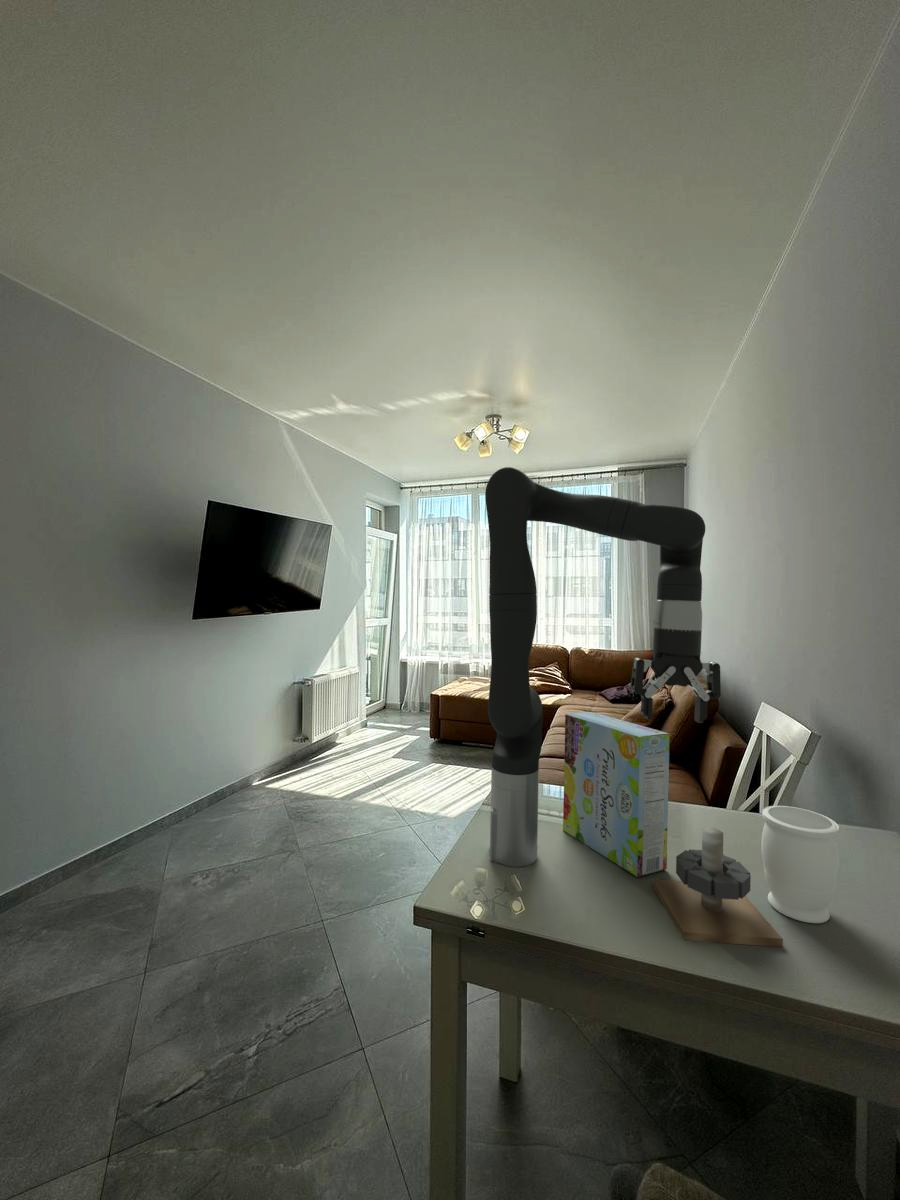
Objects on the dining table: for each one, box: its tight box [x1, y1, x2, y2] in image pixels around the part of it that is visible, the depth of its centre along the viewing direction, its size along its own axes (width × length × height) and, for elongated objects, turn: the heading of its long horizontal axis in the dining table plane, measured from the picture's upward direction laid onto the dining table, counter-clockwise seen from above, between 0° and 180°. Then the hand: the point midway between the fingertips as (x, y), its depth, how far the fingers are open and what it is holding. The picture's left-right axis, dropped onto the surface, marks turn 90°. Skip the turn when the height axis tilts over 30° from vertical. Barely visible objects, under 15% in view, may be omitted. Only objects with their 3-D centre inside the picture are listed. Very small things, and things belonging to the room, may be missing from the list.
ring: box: [675, 849, 752, 900], centre depth 80 cm, size 10×10×2 cm
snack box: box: [562, 711, 671, 878], centre depth 101 cm, size 22×9×26 cm, turn 26°
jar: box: [760, 805, 840, 924], centre depth 82 cm, size 11×10×15 cm
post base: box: [652, 827, 784, 948], centre depth 80 cm, size 14×14×13 cm
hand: (673, 720), depth 86 cm, fingers open, 8 cm apart
